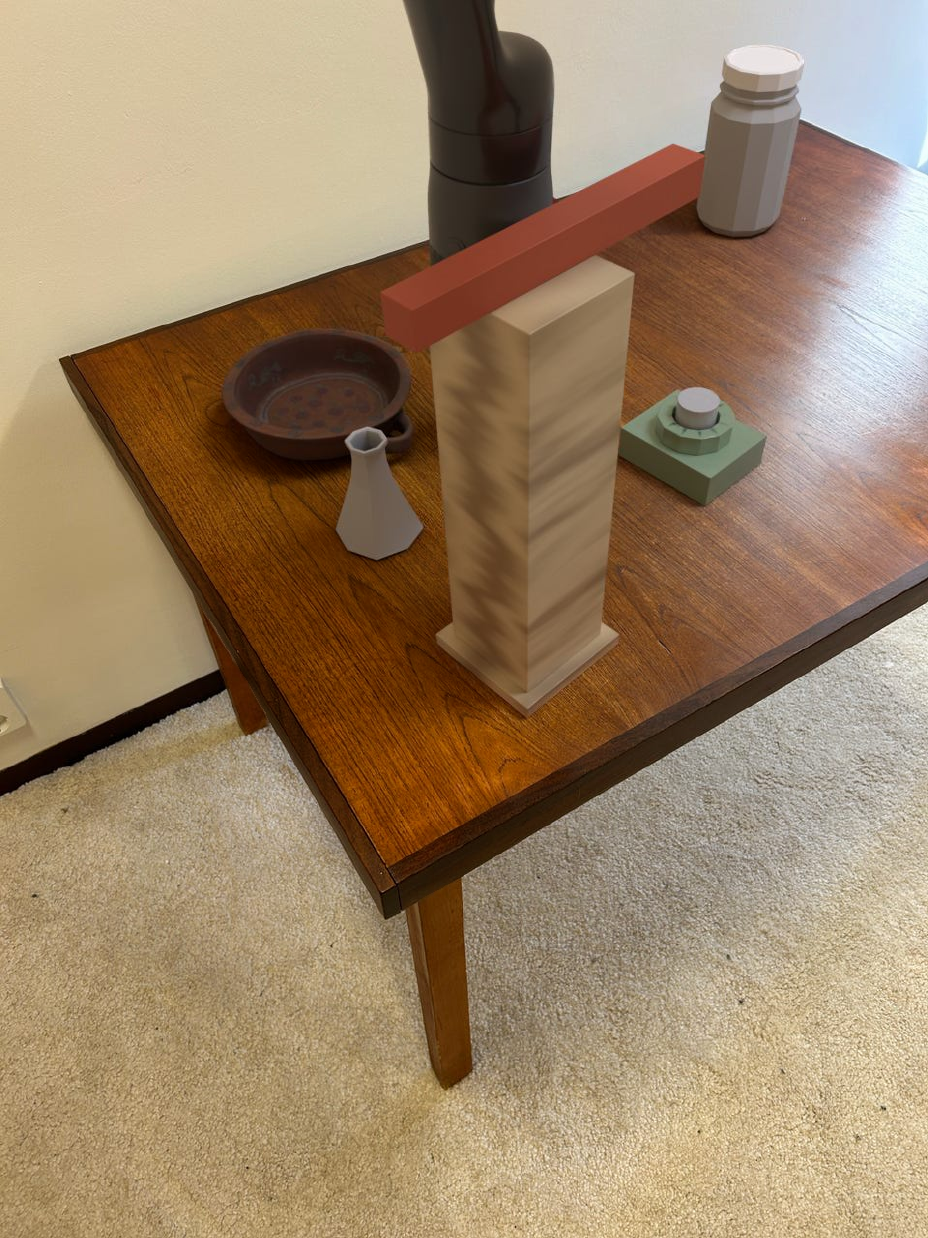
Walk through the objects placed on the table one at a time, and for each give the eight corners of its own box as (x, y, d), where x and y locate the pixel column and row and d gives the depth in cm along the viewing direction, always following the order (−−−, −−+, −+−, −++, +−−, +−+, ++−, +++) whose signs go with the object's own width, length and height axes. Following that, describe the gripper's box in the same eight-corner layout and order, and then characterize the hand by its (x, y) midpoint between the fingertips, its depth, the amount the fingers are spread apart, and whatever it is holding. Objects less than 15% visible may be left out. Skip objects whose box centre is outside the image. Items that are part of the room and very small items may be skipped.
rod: (700, 196, 56) (706, 154, 54) (416, 354, 47) (411, 310, 45) (668, 183, 58) (672, 142, 56) (384, 335, 48) (379, 291, 46)
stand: (618, 644, 74) (662, 271, 51) (527, 718, 70) (529, 350, 47) (526, 577, 79) (528, 211, 56) (436, 643, 75) (397, 277, 52)
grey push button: (724, 418, 85) (728, 398, 83) (698, 436, 83) (702, 417, 82) (692, 400, 86) (695, 381, 85) (666, 418, 85) (668, 399, 83)
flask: (383, 491, 87) (370, 400, 80) (438, 529, 84) (430, 437, 76) (321, 532, 84) (301, 441, 77) (375, 573, 81) (360, 482, 73)
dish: (346, 514, 85) (338, 471, 82) (181, 426, 95) (167, 384, 91) (467, 414, 94) (464, 371, 90) (305, 343, 104) (296, 301, 100)
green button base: (760, 463, 87) (771, 418, 84) (705, 506, 84) (713, 461, 80) (673, 416, 92) (680, 372, 89) (618, 455, 89) (622, 410, 85)
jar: (678, 221, 117) (698, 59, 104) (727, 193, 121) (754, 34, 108) (744, 249, 112) (775, 83, 99) (794, 219, 116) (830, 55, 103)
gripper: (514, 303, 54) (508, 513, 67) (579, 186, 63) (563, 391, 75) (389, 281, 56) (407, 490, 68) (469, 170, 64) (472, 373, 77)
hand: (489, 438), depth 72 cm, fingers open, 8 cm apart
